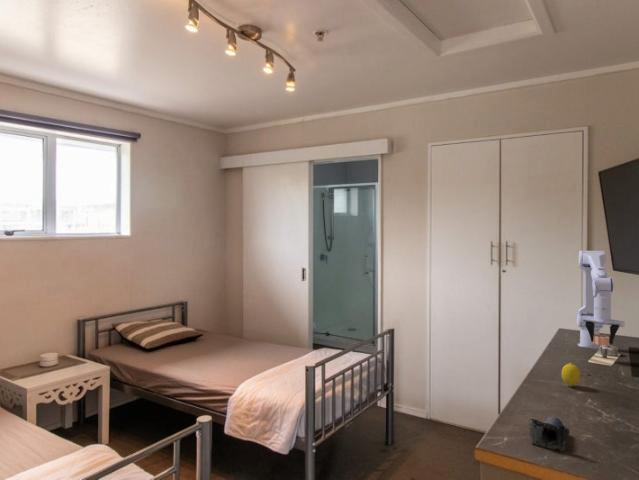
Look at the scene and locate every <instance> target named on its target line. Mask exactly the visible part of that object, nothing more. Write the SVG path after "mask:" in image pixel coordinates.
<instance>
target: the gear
mask: <svg viewBox="0 0 639 480" xmlns="http://www.w3.org/2000/svg"><path fill="white" fill-rule="evenodd" d="M593 343H595V344H597V345H611V344H610V335H606V334H601V333H599V335H596V334H595V335H593Z"/></svg>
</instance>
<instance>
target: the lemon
mask: <svg viewBox="0 0 639 480" xmlns="http://www.w3.org/2000/svg"><path fill="white" fill-rule="evenodd" d="M561 378H562V380H563V382H564V383H565V384H567V385H568V386H569V387H573V386H575V385H577V384H578V383H579V382H580V379H581V371H580V369H579V368H578V366H576V365H575V364H573V363H572V362H569V363H567V364H564V366H563V367H562V368H561Z"/></svg>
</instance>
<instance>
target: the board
mask: <svg viewBox="0 0 639 480" xmlns="http://www.w3.org/2000/svg"><path fill="white" fill-rule="evenodd" d="M620 356H621V353H619V348H618V346H615V345H614V346H613V345H612V344H610V345H598V349H597V351H596V352H595V353H594V355H593V356H591V358H589V360H588V361H587V362H588V363H593V364H598V365H599V364H600V365H603V366H604V365H605V366H611V367H612V366H613V365H614V363H615V362H616V361H617V360H618V359H619V357H620Z"/></svg>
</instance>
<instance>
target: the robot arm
mask: <svg viewBox="0 0 639 480" xmlns="http://www.w3.org/2000/svg"><path fill="white" fill-rule="evenodd" d="M606 262H607V253H606V251H605V250H581V249H580V250H579V251H578V268H579V269H581V270H583V279H584V280H583V281H584V282H583V283H584V285H583V286H584V287H583V288H584V289H583V290H584V295H583V298H584V299H583V301H584V302H583V305H582V307H580V308H579V309H577V311H576V312H577V313H576V325H577V327H579V328H580V332H579V343H577V347H581V348H587V349H589V348H590V349H595V350H598V345H597V344H595V343H593V335H595V334H596V335H599V334H600V330H601V329H603V327H604V325H606V326H609V336H610V345H613V343H614V339H615V337H616V334H617V331H619V329H620V327H621V328H624V327H625V325H626V324H625V321H623V320H618V319H612V293H613V292H614V279H613V277H611V276H609V274H608V271H607V269H606V268H605V267H604V266H605V264H607V263H606Z"/></svg>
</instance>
